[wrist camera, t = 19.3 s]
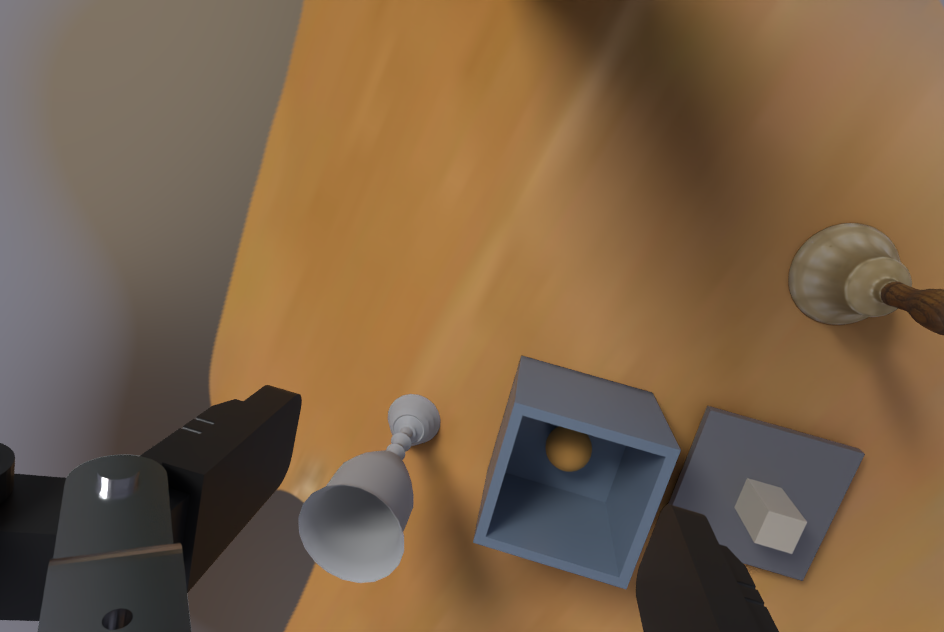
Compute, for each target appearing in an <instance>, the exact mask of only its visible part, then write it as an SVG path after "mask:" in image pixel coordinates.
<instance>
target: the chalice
mask: <svg viewBox="0 0 944 632" xmlns="http://www.w3.org/2000/svg"><path fill="white" fill-rule="evenodd" d="M388 422H389V425H390V429H391V433H392V435H393V437H392V439H391V443H392V444H391V445H389V446H388V447H387V449H386V450H385V451H375V452H367V453H364V454H361V455H359V456H356V457H354V458H352V459H350V460H348V461H346V462H344V463H343V465H342V466H341V467H340V468H339V469H338V470H337V472H336V473H335V474H334V476H333V477H332V479H331V480H330V481H329V483H328V484H327V486H326V487H324V488H322V489H320V490H318V491H316V492H314V493H312V494H311V496H310V497H309V498H308V499H307V500H306V501H305V503H304V504H303V506H302V509H301V512H300V515H299V534H300V536H301V539H302V542H303V544H304V547H305V549H306V550H307V552H308V553H309V554H310V556H311V557H312V558H313V560H314V561H315V562H316V563H317V564H318V565H320V566H321V567H322V568H323V569H324V570H326V571H327V572H328V573H330V574H332V575H335V576H337V577H339V578H341V579H343V580H348V581H352V582H357V583H363V582H374V581H377V580H379V579H381V578H384V577H386V576H388V575H389V574H390V573H391V572H392V571H393V570H394V569H395V568H396V567H397V566H398V565H399V563H400V560H401V558H402V555H403V553H404V535H403V531H404V529H405V526H406V524H407V521H408V519H409V516H410V514H411V511H412V509H413V490H412V483H411V479H410V476H409V473H408V471H407V469H406V466H405V464H404V462H403V461H402V460H403V459H404V457H405V452H406V451H408V450H409V449H410V447H411V446H414V445H418V444H422V443H425V442H427V441H429V440H431V439H432V438H433V437H434V436H435V435H436V434H437V432H438V430H439V427H440V416H439V412H438V410H437V409H436V407H435V405H434V404H433V403H432V402H431V401H429V400H428V399H427V398H425V397H423V396H420V395H415V394H408V395H403V396H401V397H399V398H398V399H396V400H395V401H394V402H393V403H392V404H391V406H390V409H389V411H388Z"/></svg>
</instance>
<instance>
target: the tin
mask: <svg viewBox="0 0 944 632" xmlns="http://www.w3.org/2000/svg"><path fill="white" fill-rule="evenodd" d="M559 426H561V427H564V428H567V429H571V430H574V431H578V432H581V433H585V434H587V435H588V436H589V438H590V441H591V444H592V454H591V457H590V460H589V461H588V463H587V464H586V465H585V466H584V467H583V468H581V469H579V470H577V471H573V472H566V471H562V470H560V469H558V468H556V467H555V466H554V465H553V464H552V463H551V462H550V461H549V459H548V457H547V454H546V449H545V446H546V440H547V438H548V436H549V434H550V433H551V432H552V431H553V430H554V429H555V428H557V427H559ZM680 451H681V450H680V448H679V446H678V444H677V442H676V440H675V437H674V435H673V433H672V431H671V429H670V427H669V425H668V423H667V421H666V419H665V417H664V415H663V413H662V411H661V409H660V407H659V405H658V403H657V401H656V399H655V397H654V395H653V393H652V392H648V391H645V390H641V389H638V388H634V387H631V386H627V385H624V384H620V383H617V382H613V381H610V380H606V379H603V378H599V377H596V376H592V375H589V374H585V373H582V372H578V371H575V370H571V369H567V368H564V367H560V366H557V365H553V364H550V363H546V362H543V361H539V360H536V359H532V358H529V357H525V356H522V355H521V358H520V361H519V365H518V368H517V372H516V375H515V378H514V382H513V385H512V389H511V392H510V395H509V399H508V402H507V406H506V409H505V413H504V416H503V419H502V423H501V426H500V430H499V433H498V436H497V440H496V443H495V447H494V450H493V453H492V457H491V460H490V464H489V467H488V470H487V475H486V480H485V485H484V490H483V495H482V500H481V505H480V510H479V515H478V520H477V525H476V530H475V535H474V540H473V543H476V544H479V545H483V546H486V547H489V548H492V549H496V550H499V551H502V552H506V553H509V554H512V555H515V556H519V557H522V558H525V559H528V560H532V561H535V562H538V563H542V564H545V565H548V566H551V567H555V568H558V569H561V570H564V571H568V572H571V573H574V574H578V575H581V576H584V577H587V578H591V579H594V580H597V581H600V582H604V583H607V584H610V585H614V586H617V587H620V588H623V589H627V586H628V584H629V581H630V579H631V576H632V573H633V571H634V568H635V566H636V563H637V561H638V558H639V556H640V553H641V551H642V548H643V545H644V543H645V540H646V538H647V535H648V533H649V530H650V528H651V525H652V523H653V520H654V517H655V515H656V512H657V510H658V507H659V505H660V502H661V500H662V497H663V494H664V492H665V489H666V487H667V484H668V482H669V479H670V477H671V474H672V472H673V469H674V466H675V464H676V461H677V459H678V456H679V454H680Z"/></svg>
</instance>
